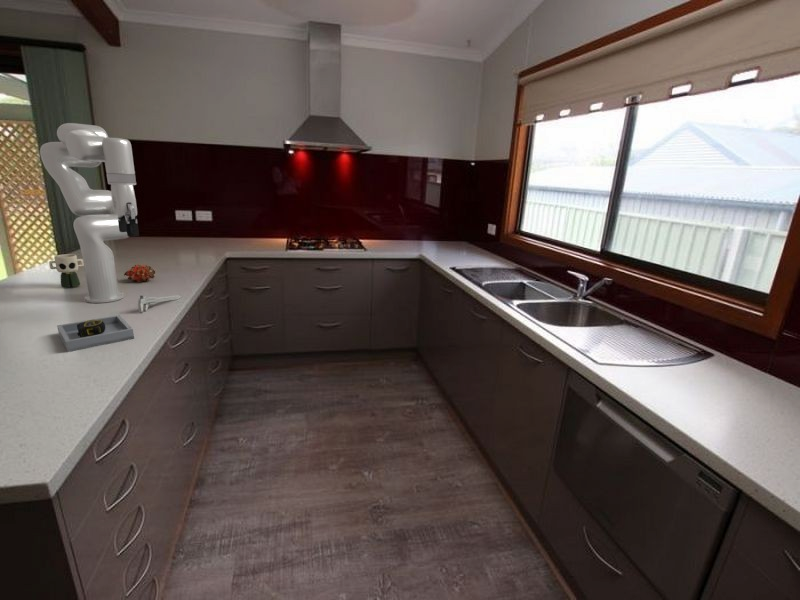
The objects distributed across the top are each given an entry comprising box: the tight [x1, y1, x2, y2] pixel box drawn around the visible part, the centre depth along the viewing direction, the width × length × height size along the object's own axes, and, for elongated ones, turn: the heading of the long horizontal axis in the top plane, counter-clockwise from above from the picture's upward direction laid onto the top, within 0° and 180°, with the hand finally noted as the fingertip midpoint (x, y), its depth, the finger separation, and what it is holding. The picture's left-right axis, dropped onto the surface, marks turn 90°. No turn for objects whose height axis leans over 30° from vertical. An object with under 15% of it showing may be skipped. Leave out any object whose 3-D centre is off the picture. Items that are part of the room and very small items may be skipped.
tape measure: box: [77, 319, 106, 337], centre depth 125 cm, size 7×7×4 cm
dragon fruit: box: [123, 263, 156, 284], centre depth 184 cm, size 8×8×12 cm
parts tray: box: [56, 314, 135, 353], centre depth 126 cm, size 16×16×3 cm
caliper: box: [137, 294, 183, 314], centre depth 156 cm, size 21×1×6 cm, turn 169°
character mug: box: [48, 253, 84, 288], centre depth 170 cm, size 11×7×13 cm, turn 129°
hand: (129, 233), depth 137 cm, fingers open, 9 cm apart
